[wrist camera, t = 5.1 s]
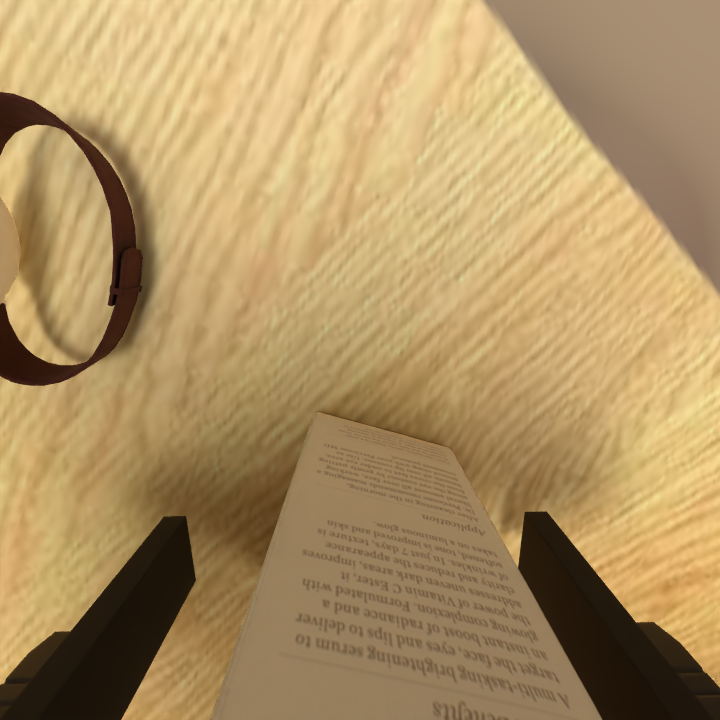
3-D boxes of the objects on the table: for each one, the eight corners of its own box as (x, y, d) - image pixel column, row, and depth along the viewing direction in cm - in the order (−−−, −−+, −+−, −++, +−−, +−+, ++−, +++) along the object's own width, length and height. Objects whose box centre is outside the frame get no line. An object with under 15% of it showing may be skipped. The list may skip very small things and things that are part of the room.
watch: (3, 115, 10) (-181, 32, 7) (157, 143, 11) (57, 76, 7) (20, 357, 12) (-119, 389, 9) (152, 377, 12) (70, 417, 9)
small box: (391, 604, 15) (466, 1325, 5) (266, 574, 14) (44, 1295, 4) (455, 443, 13) (810, 1045, 3) (314, 404, 13) (132, 943, 2)
